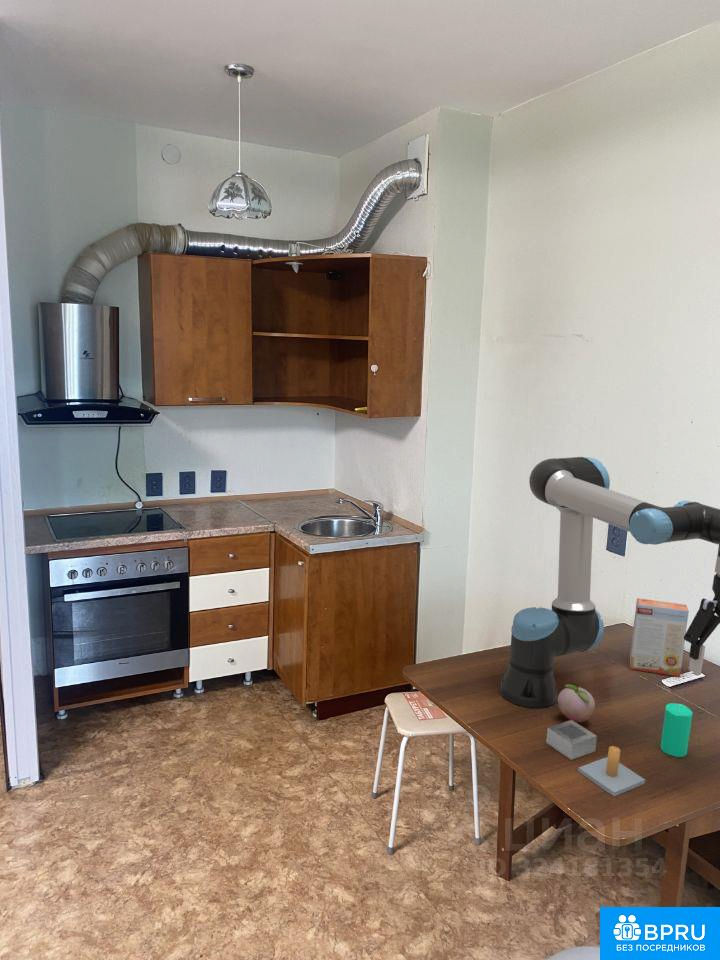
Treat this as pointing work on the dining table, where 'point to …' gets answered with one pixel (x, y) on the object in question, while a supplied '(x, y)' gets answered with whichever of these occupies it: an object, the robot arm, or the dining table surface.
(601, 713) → the dining table surface
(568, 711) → the decorative fruit
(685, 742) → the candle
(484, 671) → the dining table surface
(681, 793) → the dining table surface
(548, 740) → the gray square frame
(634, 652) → the cracker box
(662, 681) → the dining table surface
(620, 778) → the keeper
